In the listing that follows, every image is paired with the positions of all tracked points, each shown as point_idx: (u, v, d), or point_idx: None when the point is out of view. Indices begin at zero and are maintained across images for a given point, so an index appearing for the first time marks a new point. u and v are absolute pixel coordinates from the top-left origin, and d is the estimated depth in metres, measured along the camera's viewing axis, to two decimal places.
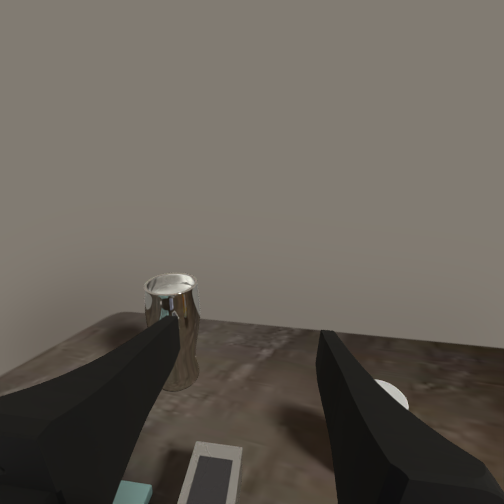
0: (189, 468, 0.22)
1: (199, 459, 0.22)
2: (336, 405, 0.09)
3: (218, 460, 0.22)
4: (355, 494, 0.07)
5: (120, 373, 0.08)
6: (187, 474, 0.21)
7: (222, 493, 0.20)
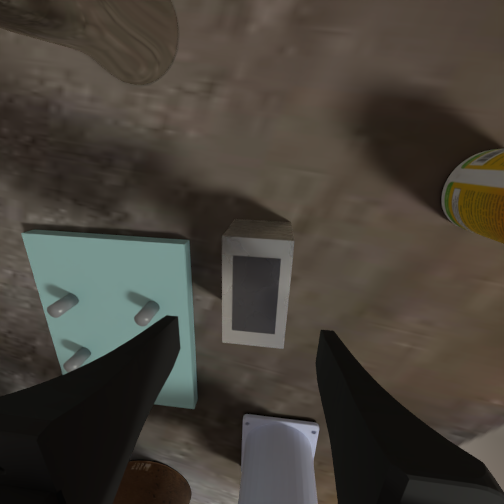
0: (223, 270, 0.16)
1: (233, 259, 0.16)
2: (336, 405, 0.09)
3: (260, 260, 0.16)
4: (355, 494, 0.07)
5: (120, 373, 0.08)
6: (223, 276, 0.16)
7: (271, 292, 0.16)
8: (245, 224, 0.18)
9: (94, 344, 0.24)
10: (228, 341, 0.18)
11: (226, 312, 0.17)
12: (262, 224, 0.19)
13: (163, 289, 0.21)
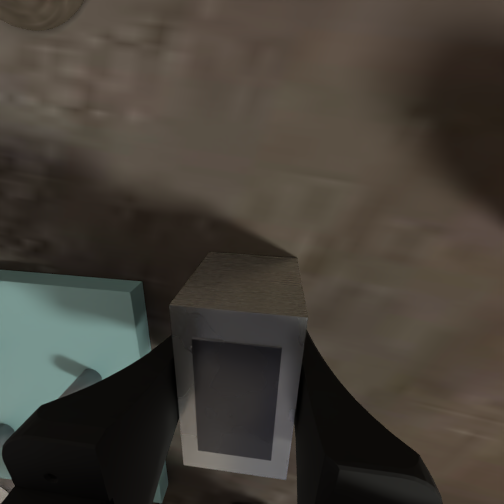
0: (177, 361, 0.09)
1: (193, 344, 0.09)
2: (299, 401, 0.09)
3: (243, 348, 0.08)
4: (306, 487, 0.07)
5: (158, 378, 0.08)
6: (178, 370, 0.09)
7: (265, 398, 0.09)
8: (222, 267, 0.11)
9: (17, 420, 0.17)
10: (193, 465, 0.11)
11: (187, 424, 0.10)
12: (250, 266, 0.11)
13: (104, 354, 0.14)
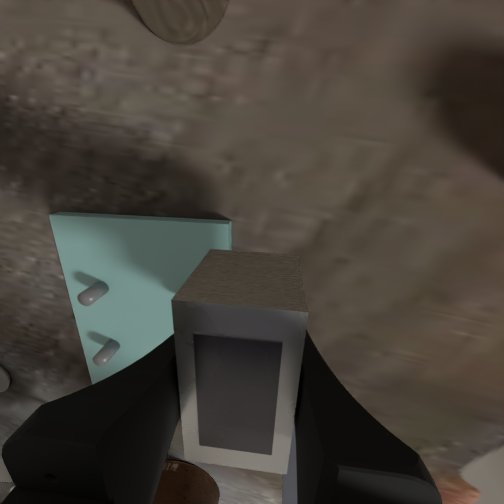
0: (178, 356, 0.09)
1: (194, 338, 0.09)
2: (299, 401, 0.09)
3: (244, 343, 0.08)
4: (306, 487, 0.07)
5: (159, 378, 0.08)
6: (179, 365, 0.09)
7: (266, 393, 0.09)
8: (223, 263, 0.11)
9: (124, 336, 0.23)
10: (194, 459, 0.11)
11: (188, 419, 0.10)
12: (251, 262, 0.11)
13: None
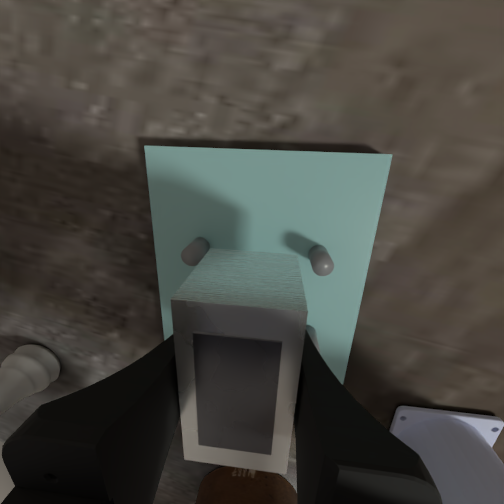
0: (178, 355, 0.09)
1: (194, 338, 0.09)
2: (299, 401, 0.09)
3: (244, 342, 0.08)
4: (306, 487, 0.07)
5: (158, 378, 0.08)
6: (179, 364, 0.09)
7: (266, 393, 0.09)
8: (223, 263, 0.11)
9: None
10: (193, 459, 0.11)
11: (188, 418, 0.10)
12: (251, 262, 0.11)
13: (340, 227, 0.15)
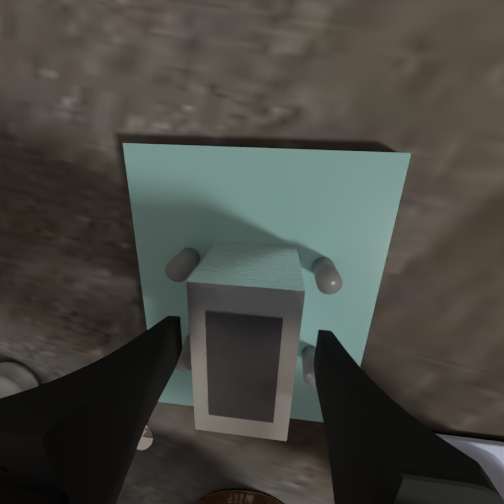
0: (192, 332, 0.10)
1: (206, 316, 0.10)
2: (333, 405, 0.09)
3: (249, 319, 0.10)
4: (351, 493, 0.07)
5: (123, 374, 0.08)
6: (192, 340, 0.10)
7: (268, 365, 0.10)
8: (229, 253, 0.12)
9: None
10: (203, 429, 0.12)
11: (199, 390, 0.11)
12: (255, 252, 0.13)
13: (349, 237, 0.13)
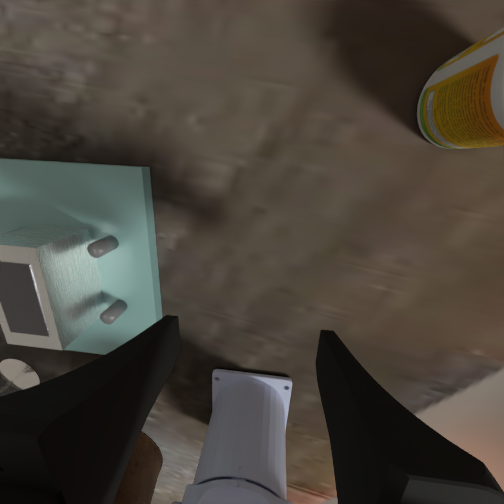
0: None
1: None
2: (336, 405, 0.09)
3: (11, 265, 0.16)
4: (355, 494, 0.07)
5: (120, 374, 0.08)
6: None
7: (33, 296, 0.17)
8: (33, 230, 0.19)
9: None
10: (12, 343, 0.19)
11: (1, 314, 0.18)
12: (51, 230, 0.19)
13: (121, 221, 0.20)
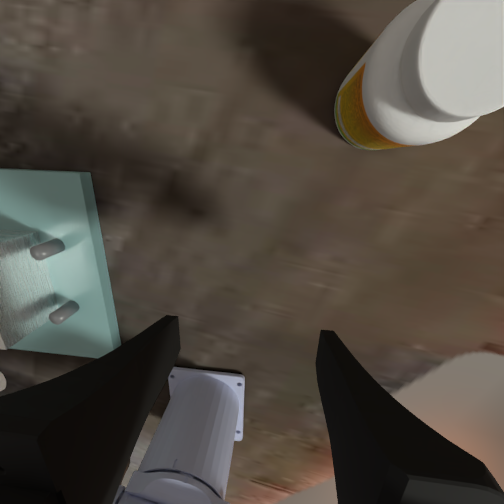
0: None
1: None
2: (336, 405, 0.09)
3: None
4: (355, 494, 0.07)
5: (120, 374, 0.08)
6: None
7: None
8: None
9: None
10: None
11: None
12: None
13: (65, 225, 0.21)
